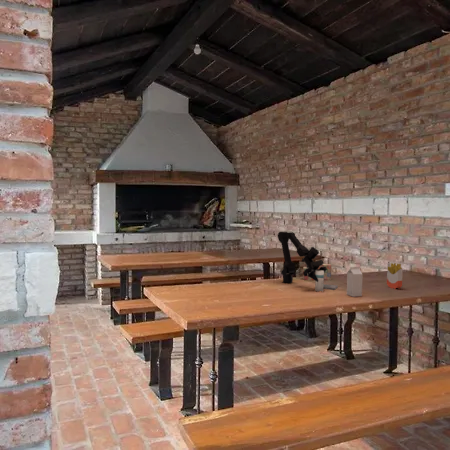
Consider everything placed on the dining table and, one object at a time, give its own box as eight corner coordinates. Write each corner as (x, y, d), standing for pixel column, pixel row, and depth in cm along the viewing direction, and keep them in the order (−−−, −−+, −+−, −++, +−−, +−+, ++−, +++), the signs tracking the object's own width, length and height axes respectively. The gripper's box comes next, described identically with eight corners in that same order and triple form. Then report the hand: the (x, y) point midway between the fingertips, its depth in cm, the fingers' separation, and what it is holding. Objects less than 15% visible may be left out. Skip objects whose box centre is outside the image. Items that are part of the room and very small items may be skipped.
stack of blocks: (303, 279, 335) (304, 264, 334) (302, 278, 341) (303, 263, 341) (331, 280, 334) (331, 264, 333) (329, 278, 340) (329, 263, 340)
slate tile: (316, 288, 303) (316, 286, 303) (319, 285, 313) (319, 283, 313) (335, 289, 298) (335, 288, 298) (337, 287, 308) (337, 285, 308)
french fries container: (396, 289, 301) (397, 264, 300) (386, 286, 311) (387, 262, 310) (401, 289, 302) (402, 264, 301) (391, 286, 313) (392, 262, 312)
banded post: (314, 291, 294) (314, 271, 293) (316, 289, 299) (316, 269, 298) (322, 291, 291) (323, 271, 291) (324, 290, 297) (324, 270, 296)
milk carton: (361, 296, 279) (362, 267, 278) (352, 296, 277) (353, 268, 276) (355, 293, 286) (356, 266, 285) (346, 294, 284) (347, 266, 283)
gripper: (306, 257, 292) (317, 275, 283) (325, 255, 302) (336, 272, 293) (298, 266, 299) (308, 284, 290) (317, 264, 309) (328, 282, 301)
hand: (320, 280), depth 294 cm, fingers closed on banded post, 6 cm apart
